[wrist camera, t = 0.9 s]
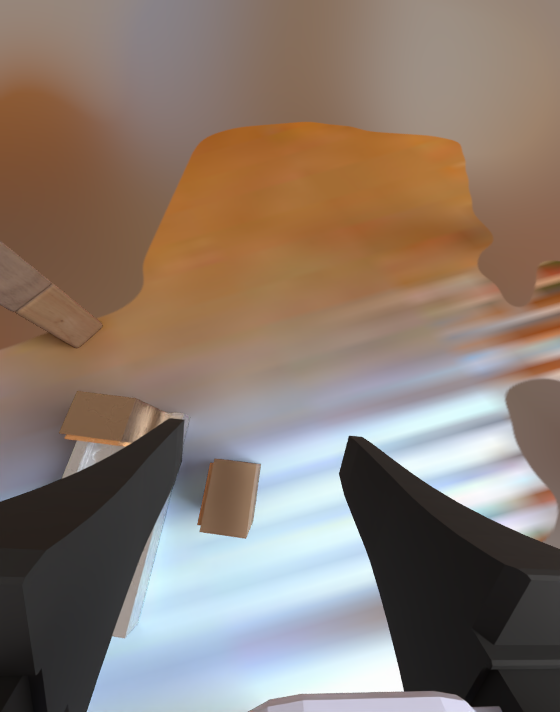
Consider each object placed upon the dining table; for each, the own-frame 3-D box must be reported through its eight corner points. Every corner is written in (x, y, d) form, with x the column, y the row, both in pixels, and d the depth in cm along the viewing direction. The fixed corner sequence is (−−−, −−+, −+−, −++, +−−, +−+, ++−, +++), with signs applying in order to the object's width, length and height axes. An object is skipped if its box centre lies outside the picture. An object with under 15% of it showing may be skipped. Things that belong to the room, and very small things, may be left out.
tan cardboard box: (261, 464, 23) (256, 464, 18) (253, 521, 22) (245, 538, 17) (224, 459, 23) (210, 458, 18) (214, 515, 22) (195, 531, 17)
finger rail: (138, 623, 19) (74, 696, 13) (28, 605, 19) (-84, 669, 13) (190, 416, 25) (162, 401, 19) (104, 406, 25) (50, 387, 19)
